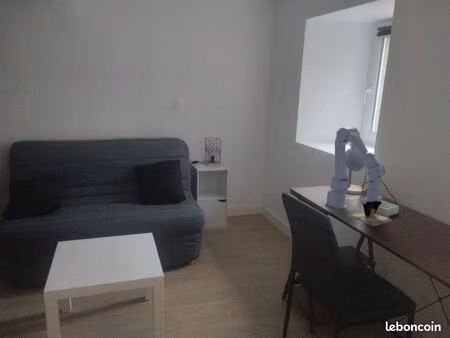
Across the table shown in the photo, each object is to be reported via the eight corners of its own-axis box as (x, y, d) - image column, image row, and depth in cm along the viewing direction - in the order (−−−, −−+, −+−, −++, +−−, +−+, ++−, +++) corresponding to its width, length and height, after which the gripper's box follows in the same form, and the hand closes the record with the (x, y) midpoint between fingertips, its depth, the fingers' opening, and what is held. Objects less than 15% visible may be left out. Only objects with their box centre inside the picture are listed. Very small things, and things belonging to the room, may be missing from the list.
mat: (346, 215, 178) (346, 215, 178) (365, 210, 186) (365, 210, 186) (373, 226, 165) (373, 226, 165) (392, 220, 174) (392, 220, 174)
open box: (366, 210, 186) (367, 203, 185) (378, 207, 192) (379, 200, 191) (385, 217, 177) (386, 209, 176) (397, 214, 183) (398, 206, 182)
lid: (349, 215, 177) (350, 206, 176) (365, 211, 185) (367, 202, 184) (373, 225, 166) (374, 215, 165) (390, 220, 174) (391, 211, 173)
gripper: (372, 193, 165) (368, 220, 168) (389, 189, 173) (385, 214, 176) (359, 189, 171) (355, 215, 174) (376, 185, 178) (373, 210, 182)
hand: (369, 214), depth 175 cm, fingers open, 4 cm apart
